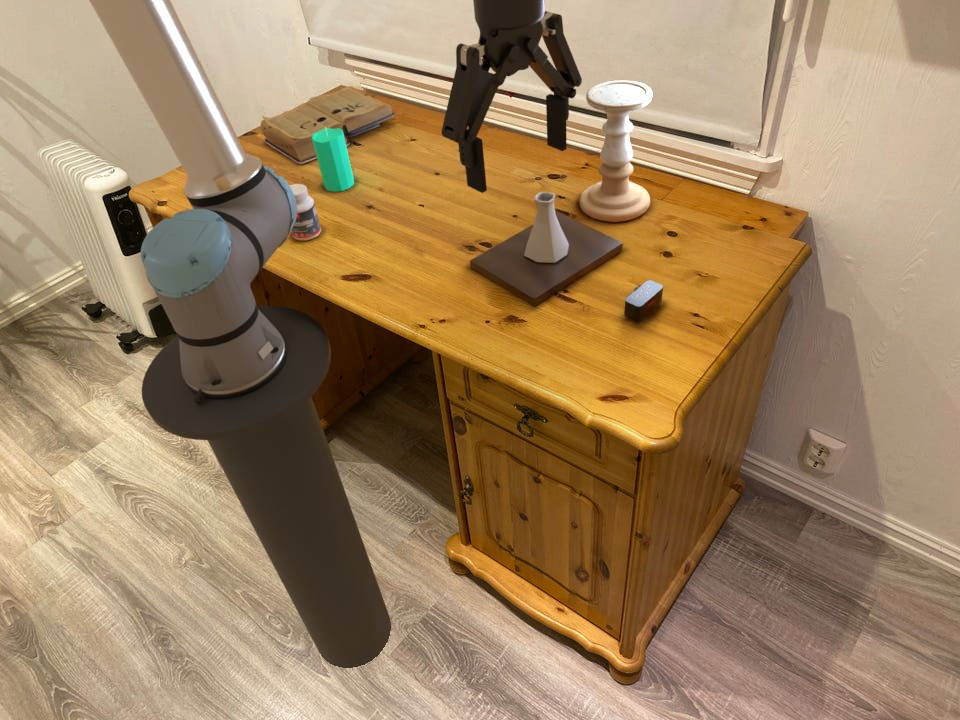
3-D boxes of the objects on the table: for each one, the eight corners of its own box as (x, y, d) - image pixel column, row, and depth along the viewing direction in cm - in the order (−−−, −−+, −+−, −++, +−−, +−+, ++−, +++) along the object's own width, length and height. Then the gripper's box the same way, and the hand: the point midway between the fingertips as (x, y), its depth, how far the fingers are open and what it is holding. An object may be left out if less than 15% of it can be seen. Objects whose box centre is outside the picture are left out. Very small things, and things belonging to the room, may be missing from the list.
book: (300, 166, 149) (292, 139, 145) (264, 142, 159) (256, 117, 155) (397, 125, 159) (393, 99, 155) (358, 106, 169) (353, 80, 165)
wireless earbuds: (666, 301, 106) (668, 283, 104) (638, 325, 102) (639, 307, 100) (639, 289, 108) (641, 272, 106) (611, 313, 105) (612, 295, 103)
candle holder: (626, 230, 120) (632, 115, 107) (565, 210, 127) (564, 99, 113) (662, 198, 127) (673, 85, 113) (604, 180, 133) (607, 72, 120)
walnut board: (534, 306, 108) (534, 298, 107) (470, 267, 116) (469, 260, 115) (622, 250, 116) (623, 242, 115) (556, 218, 125) (556, 210, 124)
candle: (360, 182, 141) (347, 124, 133) (337, 194, 138) (322, 136, 130) (342, 173, 145) (328, 116, 137) (318, 186, 142) (303, 128, 134)
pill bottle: (292, 243, 127) (278, 199, 121) (293, 228, 131) (279, 184, 125) (321, 238, 127) (309, 194, 121) (321, 223, 131) (309, 179, 125)
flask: (557, 268, 112) (556, 212, 105) (516, 258, 115) (512, 203, 108) (576, 244, 116) (576, 189, 109) (536, 235, 119) (533, 181, 112)
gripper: (436, 21, 67) (461, 218, 81) (615, -45, 78) (608, 139, 92) (390, 7, 71) (421, 196, 85) (565, -53, 82) (566, 123, 96)
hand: (518, 167), depth 89 cm, fingers open, 13 cm apart
